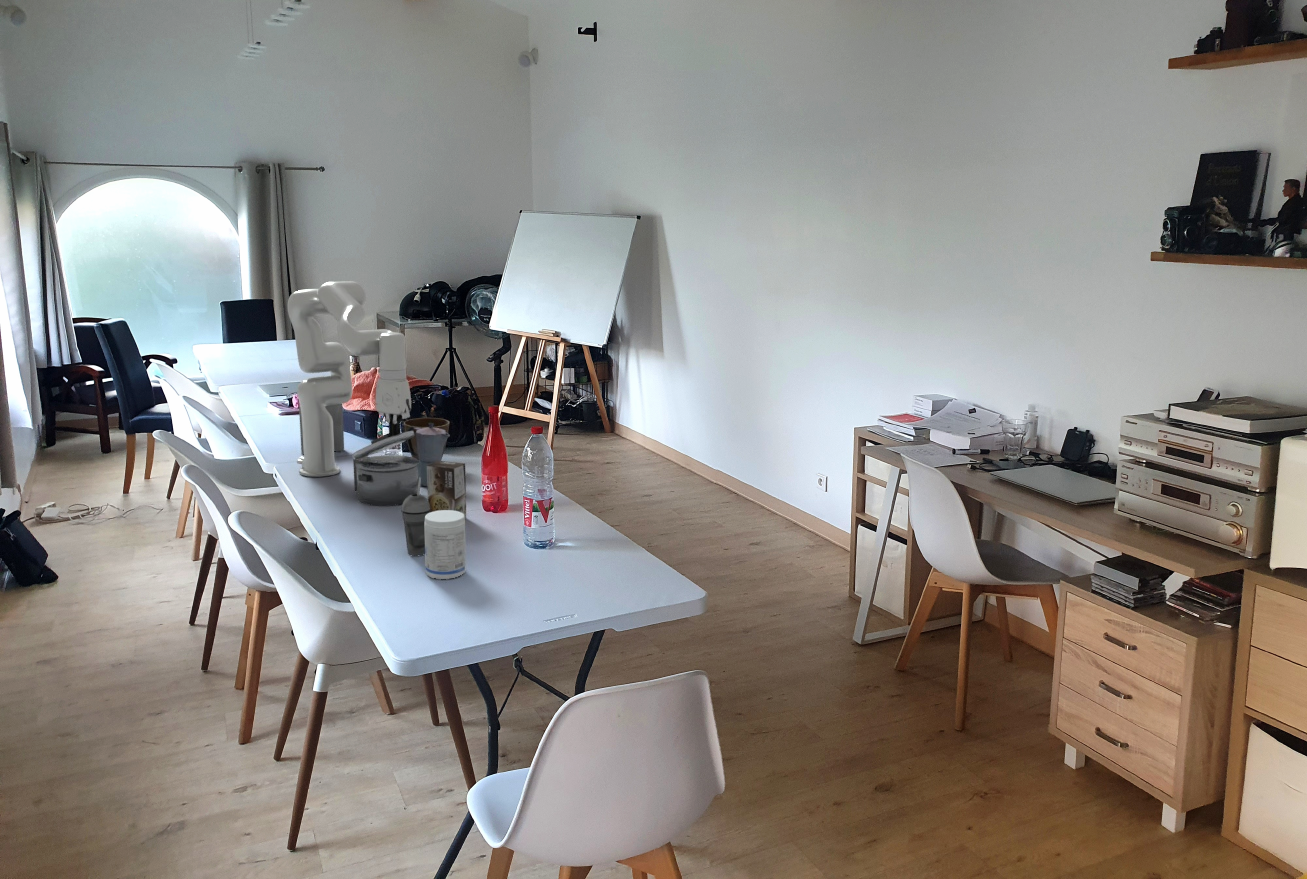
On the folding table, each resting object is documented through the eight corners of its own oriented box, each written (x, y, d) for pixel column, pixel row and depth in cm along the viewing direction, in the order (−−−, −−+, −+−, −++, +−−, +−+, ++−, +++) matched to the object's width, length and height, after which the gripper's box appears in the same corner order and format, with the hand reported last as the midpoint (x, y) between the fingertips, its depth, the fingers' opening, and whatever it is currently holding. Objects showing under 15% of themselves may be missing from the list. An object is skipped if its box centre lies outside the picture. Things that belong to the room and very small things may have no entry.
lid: (340, 464, 284) (335, 454, 284) (382, 451, 301) (378, 442, 301) (385, 442, 275) (381, 432, 275) (427, 430, 292) (423, 421, 291)
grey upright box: (341, 447, 350) (338, 393, 346) (346, 451, 346) (343, 396, 341) (299, 452, 342) (296, 397, 337) (303, 455, 337) (300, 399, 333)
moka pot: (444, 489, 302) (443, 427, 297) (399, 485, 304) (397, 423, 300) (456, 481, 311) (455, 421, 306) (412, 477, 314) (410, 417, 309)
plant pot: (459, 467, 328) (458, 421, 325) (428, 476, 316) (427, 428, 312) (427, 460, 336) (426, 416, 332) (395, 469, 323) (394, 422, 320)
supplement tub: (426, 567, 234) (425, 509, 231) (466, 565, 236) (465, 508, 233) (424, 581, 225) (423, 522, 222) (465, 580, 227) (464, 521, 224)
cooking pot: (334, 500, 286) (333, 465, 283) (384, 484, 305) (383, 450, 303) (388, 511, 277) (386, 474, 275) (435, 493, 297) (435, 458, 294)
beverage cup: (405, 548, 247) (402, 473, 243) (433, 548, 248) (432, 473, 243) (400, 558, 240) (397, 481, 236) (429, 558, 241) (427, 481, 236)
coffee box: (467, 517, 274) (466, 463, 270) (455, 524, 268) (454, 468, 264) (439, 513, 277) (438, 459, 273) (427, 519, 271) (426, 464, 267)
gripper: (364, 374, 281) (366, 435, 285) (404, 379, 275) (406, 441, 279) (381, 370, 287) (383, 430, 292) (421, 375, 281) (423, 436, 285)
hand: (394, 435), depth 285 cm, fingers closed
